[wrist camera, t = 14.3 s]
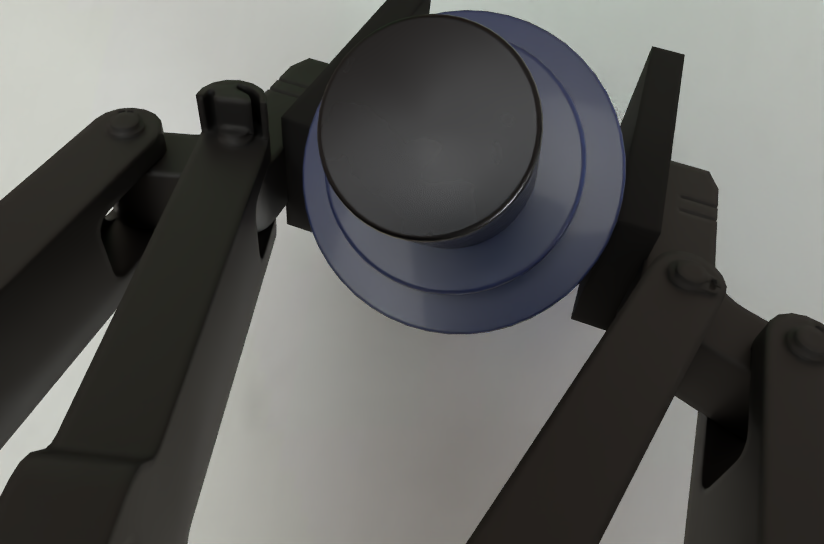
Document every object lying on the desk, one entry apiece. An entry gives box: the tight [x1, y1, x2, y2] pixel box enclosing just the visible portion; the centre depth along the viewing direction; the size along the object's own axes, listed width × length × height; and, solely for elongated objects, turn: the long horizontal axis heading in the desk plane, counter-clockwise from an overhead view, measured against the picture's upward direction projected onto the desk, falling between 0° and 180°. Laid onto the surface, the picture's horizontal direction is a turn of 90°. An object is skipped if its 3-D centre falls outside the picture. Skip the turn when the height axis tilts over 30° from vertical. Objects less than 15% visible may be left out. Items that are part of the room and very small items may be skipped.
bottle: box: [303, 10, 626, 334], centre depth 15 cm, size 5×5×16 cm
